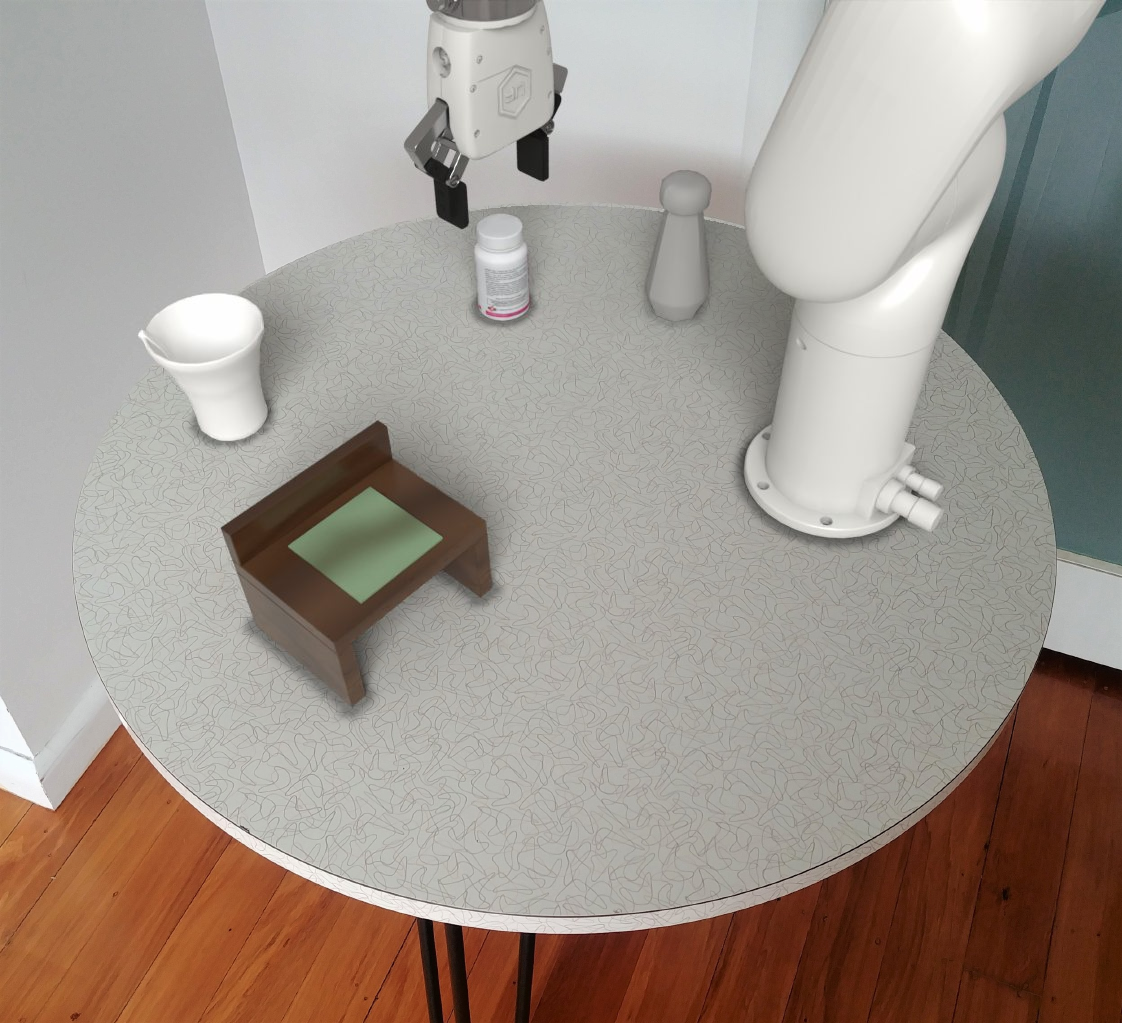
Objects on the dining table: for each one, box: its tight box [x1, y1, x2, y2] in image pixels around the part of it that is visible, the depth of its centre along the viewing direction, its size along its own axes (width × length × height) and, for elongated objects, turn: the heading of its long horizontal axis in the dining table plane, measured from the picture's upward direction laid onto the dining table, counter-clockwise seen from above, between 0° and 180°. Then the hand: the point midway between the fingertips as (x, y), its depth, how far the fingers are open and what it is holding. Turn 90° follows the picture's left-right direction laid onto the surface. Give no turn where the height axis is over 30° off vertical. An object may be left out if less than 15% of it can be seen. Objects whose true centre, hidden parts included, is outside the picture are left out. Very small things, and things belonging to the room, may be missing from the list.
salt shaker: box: [644, 169, 713, 323], centre depth 92 cm, size 6×6×13 cm
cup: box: [137, 292, 269, 442], centre depth 83 cm, size 9×9×10 cm
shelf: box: [220, 420, 493, 707], centre depth 70 cm, size 10×13×10 cm
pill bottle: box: [473, 213, 531, 322], centre depth 94 cm, size 5×5×8 cm
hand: (494, 197), depth 89 cm, fingers open, 9 cm apart
